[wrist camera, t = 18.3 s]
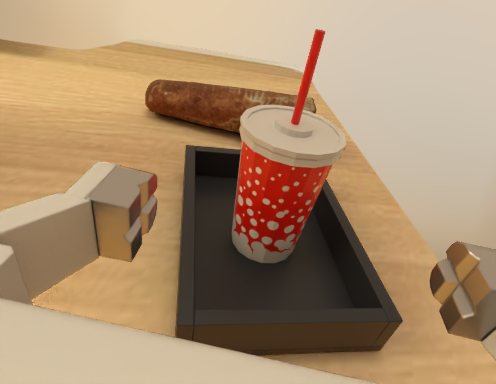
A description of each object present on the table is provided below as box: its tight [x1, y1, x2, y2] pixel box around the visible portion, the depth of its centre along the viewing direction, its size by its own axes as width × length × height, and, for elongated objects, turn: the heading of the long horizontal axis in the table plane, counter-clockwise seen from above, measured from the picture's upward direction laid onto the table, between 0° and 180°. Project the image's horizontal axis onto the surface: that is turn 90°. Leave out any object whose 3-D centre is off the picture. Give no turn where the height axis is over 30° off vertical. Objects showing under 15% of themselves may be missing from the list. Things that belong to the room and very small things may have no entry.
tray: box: [175, 145, 403, 355], centre depth 23 cm, size 12×17×3 cm
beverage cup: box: [232, 29, 346, 263], centre depth 20 cm, size 6×6×14 cm
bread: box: [145, 80, 316, 133], centre depth 37 cm, size 6×19×6 cm, turn 80°
